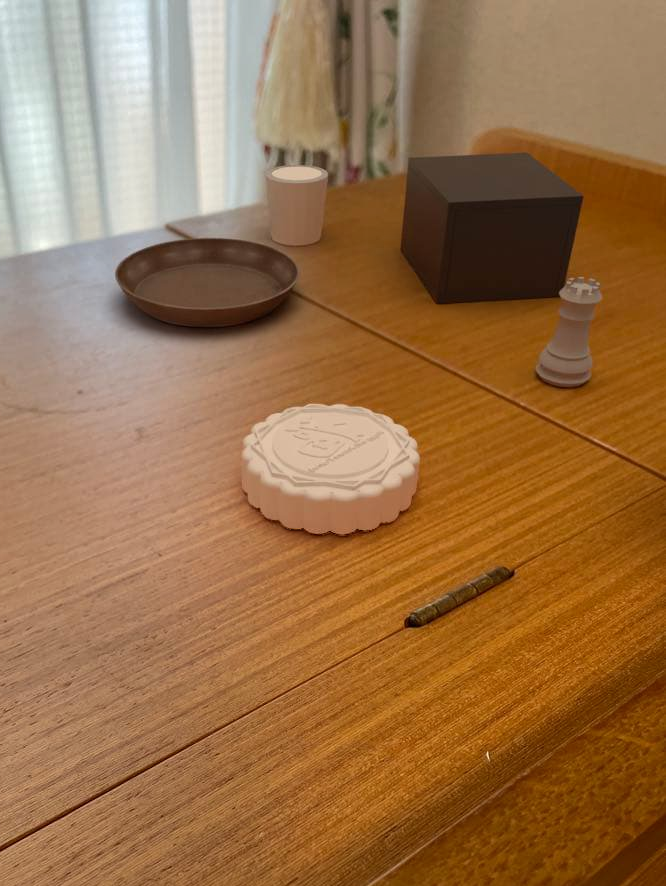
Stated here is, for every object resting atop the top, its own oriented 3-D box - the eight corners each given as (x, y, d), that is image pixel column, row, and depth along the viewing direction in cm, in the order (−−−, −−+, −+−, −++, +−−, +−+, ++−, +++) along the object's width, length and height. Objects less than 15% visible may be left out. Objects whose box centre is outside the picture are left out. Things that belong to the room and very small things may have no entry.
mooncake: (326, 421, 67) (328, 379, 65) (451, 486, 60) (458, 442, 58) (206, 482, 61) (203, 438, 58) (330, 563, 54) (332, 516, 51)
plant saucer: (322, 277, 89) (323, 248, 87) (260, 350, 76) (259, 318, 74) (167, 256, 94) (165, 228, 92) (84, 321, 82) (80, 290, 80)
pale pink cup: (293, 252, 95) (293, 186, 91) (253, 235, 99) (252, 171, 95) (338, 237, 98) (341, 173, 94) (298, 222, 103) (299, 160, 98)
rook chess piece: (588, 392, 70) (613, 297, 65) (531, 384, 71) (551, 290, 66) (591, 368, 73) (614, 275, 68) (536, 360, 74) (555, 269, 69)
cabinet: (400, 250, 95) (408, 157, 89) (511, 244, 96) (527, 152, 90) (436, 304, 84) (448, 202, 78) (562, 296, 85) (584, 195, 79)
